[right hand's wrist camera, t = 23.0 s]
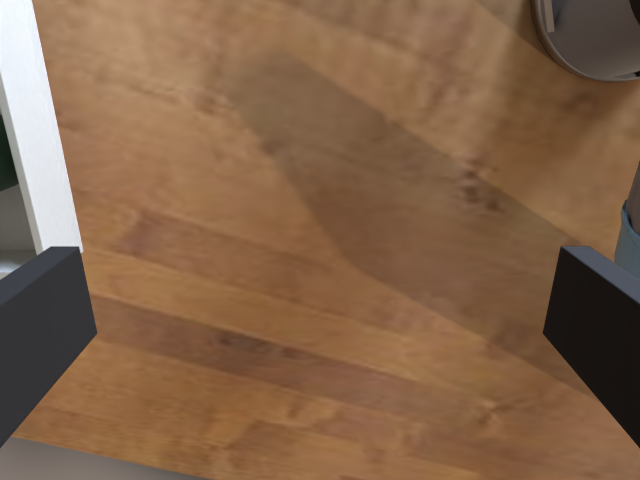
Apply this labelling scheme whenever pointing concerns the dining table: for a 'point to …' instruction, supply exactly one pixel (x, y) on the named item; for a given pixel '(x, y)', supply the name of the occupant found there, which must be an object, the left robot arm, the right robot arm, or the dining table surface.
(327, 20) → the dining table surface
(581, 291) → the right robot arm
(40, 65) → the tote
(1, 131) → the dark green cylinder
